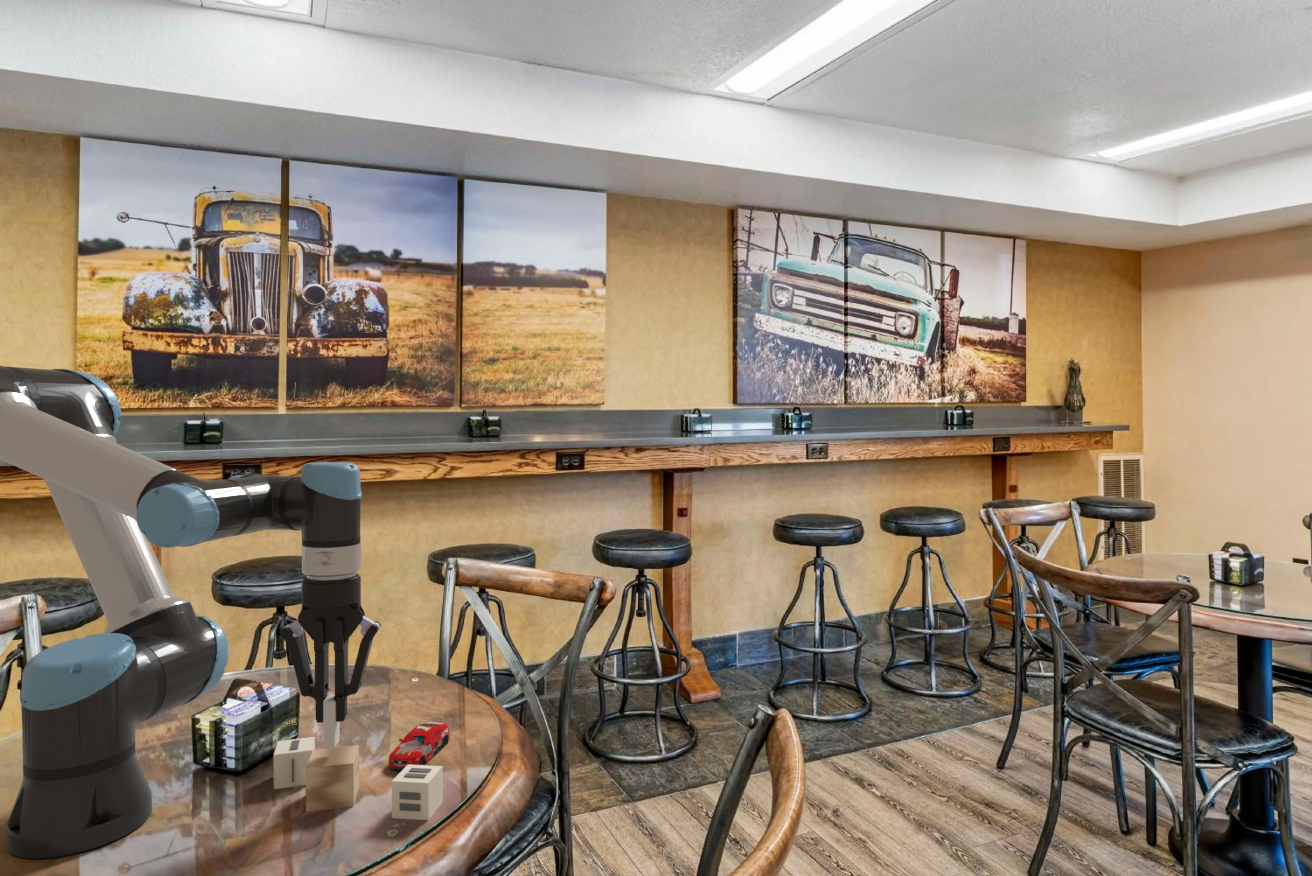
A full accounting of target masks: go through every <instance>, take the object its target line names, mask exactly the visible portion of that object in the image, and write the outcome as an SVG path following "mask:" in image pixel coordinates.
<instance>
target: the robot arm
mask: <svg viewBox="0 0 1312 876" xmlns="http://www.w3.org/2000/svg"><path fill="white" fill-rule="evenodd" d="M120 417H122V410H121V405H120V402H119V400H118V398H117V395H116V394H115V392H114V391H113V390H112V388H111V387H110V386H109V385H108V383H107V382H104V380H102V379H101V378H99V377H98V376H95V375H93V374H90V373H86V372H82V371H81V372H80V371H75V370H71V369H67V368H53V369H52V368H51V369H45V368H31V367H18V366H16V367H15V366H3V365H0V461H3V462H6V463H8V464H10V465H12V466H15V467H16V468H19V469H21V470H23V471H25V472H28V473H29V474H32V475H35V476H37V477H39V478H41V479H43V480H44V482H45V485H46V486H47V487H46V488H47V489H48V491H49V494H50V495H51V498H52V500H53V502H54V504H55V507H56V510H57V512H58V514H59V516H60V518H61V520H62V522H63V524H64V527H65V529H66V531H67V535H68V536H69V538H70V540H71V542H72V545H73V548H74V550H75V552H76V553H77V557H78V558H79V560H80V563H81V564H82V567H83V569H84V571H85V574H86V577H87V578H88V580H89V583H90V585H91V588H92V590H93V592H94V594H95V596H96V598H97V601H98V603H99V605H100V608H101V610H102V611H103V614H104V617H105V619H106V621H107V624H106V626H105V628H104V631H103V633H97V634H90V635H86V636H84V637H81V638H78V637H77V638H72V639H69V640H66V641H65V640H64V641H63V642H59V643H56V644H54V645H52V646H50V647H47V648H45V649H44V650H42V651H40V652H38V653H37V654H36V655H34V656H32V657H31V658H30V659H29V661H28V662H27V663H26V664H25V666H24V667H23V671H22V677H21V680H22V681H21V690H20V692H19V703H20V705H21V730H22V732H21V733H22V734H21V735H22V736H21V737H22V781H21V784H20V787H19V790H18V793H17V796H16V799H15V800H14V804H13V807H12V810H11V811H10V815H9V817H8V820H7V823H6V826H5V848H6V851H7V852H8V853H9V854H11V855H13V856H15V857H19V858H24V859H47V858H49V859H50V858H57V857H64V856H68V855H69V856H70V855H73V854H78V853H82V852H86V851H89V850H93V849H96V848H98V847H101V846H104V845H107V844H110V843H112V842H114V841H116V840H118V839H121V838H123V837H124V836H127V835H128V834H130V833H131V832H134V831H135V830H137V829H138V828H139V827H141V826H142V825H143V824H144V823H145V822H146V821H147V820H148V819H149V818H150V817H151V815H152V812H153V794H152V790H151V788H150V786H149V783H148V781H147V779H146V777H145V774H144V772H143V770H142V767H141V765H140V763H139V760H138V758H137V755H136V754H137V753H136V752H137V751H136V726H137V725H139V724H140V723H143V722H146V721H148V720H150V719H152V718H154V717H157V716H159V715H162V714H164V713H165V712H168V711H171V710H173V709H176V708H177V707H179V706H181V705H182V706H183V705H187V704H189V703H191V702H192V701H194V700H197V699H198V698H199V697H201V696H202V695H204V694H206V693H208V692H210V691H211V690H212V689H213V688H214V687H216V685H217V684H218V683H219V682H220V680H222V678H223V676H224V675H225V670H226V667H227V666H228V663H229V656H230V654H229V653H230V649H229V641H228V638H227V635H226V633H225V631H224V629H223V628H222V627H221V625H220V624H219V623H218V622H217V621H215V620H211V618H209V617H207V616H204V615H203V616H202V615H197V614H196V612H195V610H194V607H193V606H192V603H191V602H190V600H188V599H185V598H182V597H178V596H176V595H175V594H174V592H173V590H172V589H171V586H170V584H169V581H168V580H167V577H166V575H165V573H164V571H163V569H162V566H161V563H160V562H159V560H158V557H157V555H156V553H155V551H154V549H153V547H152V544H153V545H154V546H156V547H161V548H165V549H166V548H168V549H169V548H178V547H182V548H186V547H192V546H193V547H194V546H196V545H199V544H202V543H207V542H211V541H216V540H220V539H225V538H230V537H236V536H242V535H245V534H246V535H247V534H252V533H257V532H261V531H266V530H267V531H269V530H270V531H271V530H272V531H273V530H277V531H278V530H283V531H289V530H290V531H301V573H302V574H303V575H305V576H304V577H303V579H302V580H301V609H300V611H299V613H298V615H297V619H296V620H295V621H293V622H292V623H288V624H287V625H285V626H284V627H283V628H282V629H280V631H279V634H280V636H281V637H282V639H283V640H284V641H285V642H286V644H287V645H288V649H289V652H290V653H289V654H290V657H291V661H292V665H293V669H294V672H295V673H294V674H295V677H296V680H297V683H298V689H299V691H300V694H301V696H302V697H310V698H312V699H314V701H315V722H316V723H318V724H319V723H320V724H321V723H323V724H322V725H323V727H322V728H323V729H322V731H323V732H322V733H323V736H322V737H323V738H322V739H323V746H322V749H327V748H335V747H337V746H338V743H339V742H340V738H341V737H340V731H341V730H340V726H341V725H340V722H341V723H342V722H344V721H345V719H346V718H347V715H348V697H349V696H351V695H355V694H357V693H358V692H359V690H360V688H361V687H362V684H363V679H364V677H365V673H366V668H367V664H368V660H369V657H370V653H371V650H372V649H371V648H372V645H373V641H374V637H375V636H376V634H377V633H378V632H379V630H380V629H381V627H382V624H381V622H380V621H378V620H377V621H376V620H375V621H373V620H371V619H370V618H368V617H367V616H365V615H366V613H365V610H364V609H363V606H362V599H361V598H362V595H361V594H362V590H361V589H362V584H361V583H362V576H360V574H359V573H358V572H359V571H360V570H361V569H362V542H361V507H362V497H363V493H362V490H361V489H362V488H361V471H360V468H359V466H358V465H356V464H355V463H353V462H347V461H344V462H343V461H339V462H338V461H334V462H333V461H323V462H322V461H320V462H319V461H318V462H317V461H316V462H307V463H305V464H304V465H303V466H302V468H301V474H300V475H297V476H294V475H293V476H289V475H267V474H262V473H261V474H260V473H252V474H250V473H249V474H237V475H233V476H230V477H229V478H227V479H214V480H203V479H200V478H197V477H195V476H192V475H190V474H187V473H185V472H182V471H180V470H178V469H176V468H174V467H172V466H169V465H167V464H164V463H162V462H160V461H157V460H155V459H153V458H151V457H149V456H145V455H144V454H141V453H139V452H137V451H135V450H132V449H130V448H128V447H126V446H123V445H121V444H118V443H117V439H116V437H115V436H116V434H117V433H118V431H119V428H120V426H121V421H119V418H120ZM359 625H360V627H361V628H360V634H361V635H362V638H361V641H360V644H359V647H358V650H357V651H358V652H357V655H356V659H355V664H354V666H353V671H352V674H351V679H350V683H349V642H350V637H351V636H353V634H354V633H355V631H356V629H357V628H358V627H359ZM303 630H304V631H305V632H306V634H307V635H308V637H310V639H311V640H312V641H313V651H314V676H313V672H312V669H311V665H310V661H309V658H308V654H307V651H306V646H305V643H304V640H303V632H304V631H303ZM330 643H331V644H332V643H333V652H334V693H333V694H331V693H330V694H329V691H330V689H331V688H330V687H329V682H330V681H329V680H330V679H329V674H330V673H329V671H330V670H329V669H330V666H329V664H330V663H329V661H330V660H329V658H330V657H329V656H330V655H329V654H330V653H329V651H330V648H329V646H330Z"/></svg>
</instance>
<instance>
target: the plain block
mask: <svg viewBox="0 0 1312 876" xmlns="http://www.w3.org/2000/svg"><path fill="white" fill-rule="evenodd" d="M359 789H360V745H357V744H356V745H346V746H336V747H335V748H327V749H323V748H315V749H314V750H313V752H312V755H311V757H310V759H309V761H308V764H307V766H306V785H305V812H306V813H307V812H315V811H324V810H334V809H342V808H350V807H355V803H356V800H357V796H358V792H359Z"/></svg>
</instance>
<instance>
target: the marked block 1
mask: <svg viewBox="0 0 1312 876" xmlns="http://www.w3.org/2000/svg"><path fill="white" fill-rule="evenodd" d="M314 749H316V737H315V736H309V737H302V738H301V737H300V738H296V739H295V738H293V739H292V738H291V739H286V740H278V741H277V742H276V747H275V749H274V752H273V789H274V790H279V789H285V788H294V787H300V786H306V766H307V764H308V761H309V759H310V757H311V755H312V752H313V750H314Z"/></svg>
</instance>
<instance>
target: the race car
mask: <svg viewBox="0 0 1312 876" xmlns="http://www.w3.org/2000/svg"><path fill="white" fill-rule="evenodd" d="M450 733H451V732H450V726H449V725H448V724H447V723H446V722H441V721H440V722H439V721H438V722H437V721H429V722H425V723H419V724H418V725H416V726H415V727H413V728H412V729H411V730H410V731H409V732H408V733H407V734H406V735H405V736H404V738H403V739H402V738H399V739H398V741H399V742H400V743H399V744H398V745H397V746H396V747H395V748H394V749H393V751H391V753H390V754H389V755H388V766H389V768H391V769H393V770H398V771H402V770H403V769H404V768H405V767H406V766H407V765H408V764H409V765H426V764H425V763H428V762H429V760H430V759H432V758H433V757H434V756H435V755H436V754H437V753H438V752H439V751H441V750H442V748H445V747H446V746H447V745H448V742H449V741H450V739H451V738H450V736H451V735H450Z"/></svg>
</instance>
